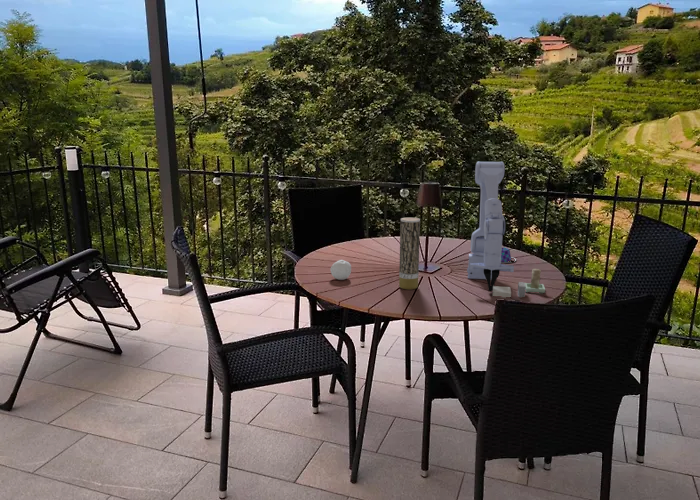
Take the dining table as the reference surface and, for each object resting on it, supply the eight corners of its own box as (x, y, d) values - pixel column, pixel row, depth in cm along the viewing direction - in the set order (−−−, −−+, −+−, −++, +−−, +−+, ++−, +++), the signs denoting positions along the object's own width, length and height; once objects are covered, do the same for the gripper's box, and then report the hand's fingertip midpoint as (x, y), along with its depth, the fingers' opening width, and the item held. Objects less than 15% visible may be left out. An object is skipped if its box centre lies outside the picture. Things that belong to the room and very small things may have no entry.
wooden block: (518, 297, 188) (519, 286, 187) (517, 292, 193) (518, 281, 192) (524, 297, 188) (525, 286, 187) (523, 293, 192) (524, 282, 192)
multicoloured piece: (522, 262, 234) (523, 250, 232) (498, 265, 229) (499, 253, 228) (504, 256, 244) (505, 244, 243) (481, 258, 240) (482, 246, 239)
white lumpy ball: (347, 275, 213) (347, 256, 212) (354, 281, 206) (354, 261, 205) (328, 277, 211) (327, 258, 209) (334, 283, 204) (334, 263, 202)
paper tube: (405, 283, 204) (407, 216, 198) (421, 287, 199) (423, 218, 193) (395, 287, 199) (396, 219, 193) (411, 291, 194) (413, 221, 188)
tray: (525, 292, 194) (526, 288, 193) (524, 286, 200) (524, 282, 199) (544, 293, 192) (545, 289, 192) (543, 288, 198) (543, 284, 198)
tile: (492, 297, 189) (493, 291, 189) (492, 291, 196) (492, 285, 195) (510, 298, 188) (511, 293, 187) (509, 292, 195) (510, 287, 194)
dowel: (530, 289, 195) (532, 270, 193) (530, 287, 197) (532, 268, 196) (538, 290, 194) (540, 271, 192) (538, 288, 197) (540, 269, 195)
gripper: (470, 254, 187) (468, 292, 190) (515, 256, 184) (512, 295, 187) (471, 249, 194) (469, 286, 197) (514, 251, 190) (511, 289, 194)
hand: (490, 290), depth 192 cm, fingers closed
